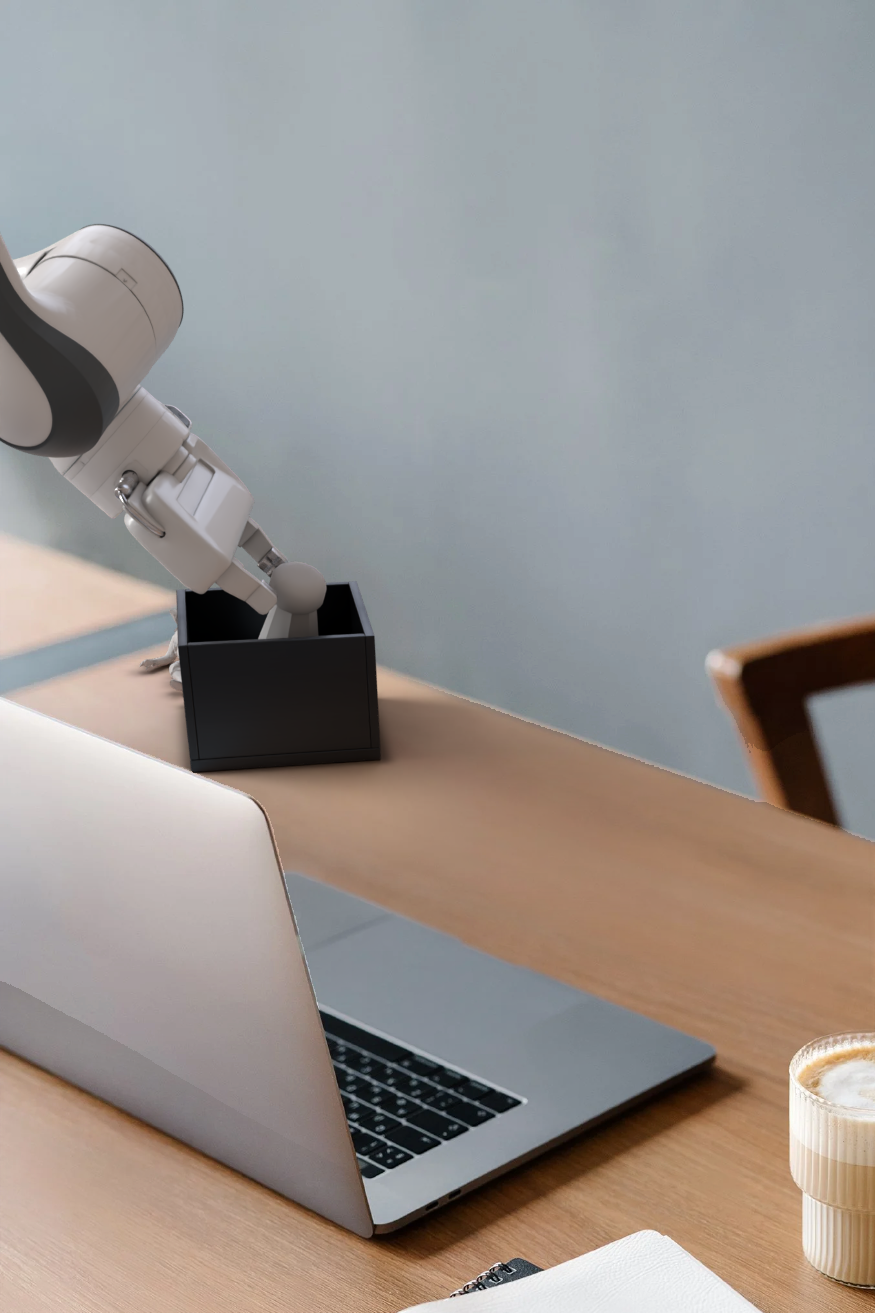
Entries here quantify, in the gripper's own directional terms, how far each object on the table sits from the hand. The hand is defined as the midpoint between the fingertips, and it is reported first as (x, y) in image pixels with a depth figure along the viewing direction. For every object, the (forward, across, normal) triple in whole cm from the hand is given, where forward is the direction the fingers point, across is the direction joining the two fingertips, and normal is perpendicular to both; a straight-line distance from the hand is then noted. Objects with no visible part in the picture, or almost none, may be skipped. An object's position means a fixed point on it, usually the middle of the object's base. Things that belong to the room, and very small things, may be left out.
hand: (277, 588), depth 139 cm
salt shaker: (+7, +4, +8) cm, 11 cm away
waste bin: (+8, 0, +9) cm, 12 cm away
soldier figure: (+2, +15, +15) cm, 21 cm away
